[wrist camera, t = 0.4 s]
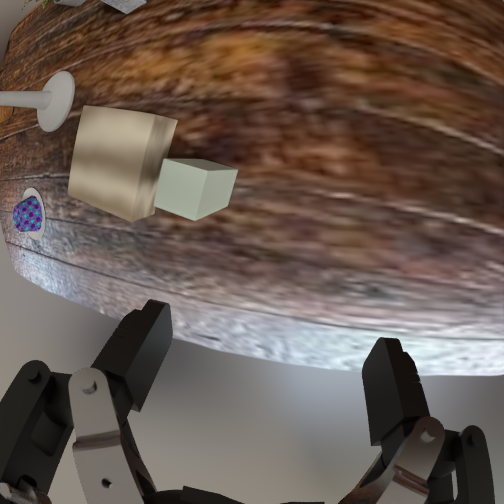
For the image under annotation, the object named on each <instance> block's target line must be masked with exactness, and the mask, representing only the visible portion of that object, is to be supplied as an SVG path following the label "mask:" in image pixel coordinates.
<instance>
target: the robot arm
mask: <svg viewBox="0 0 504 504" xmlns="http://www.w3.org/2000/svg"><path fill="white" fill-rule="evenodd" d="M172 336H173V330H172V320H171V310H170V305H169V303H165V302H161V301H157V300H152V299H150V300H148V301H147V303H146V304H145V306H144V307H143V309H142V310H137V309H135V310H133V311H132V312H130V313H129V314H127V315H126V316H125V317H124V318H123V319H122V321H121V322H120V324H119V325H118V328H116V330H115V331H114V333H113V335H112V336H111V337H110V338H109V340H108V341H107V343H106V344H105V346H104V348H103V349H102V350H101V352H100V353H99V355H98V357H97V358H96V360H95V361H94V363H93V364H92V365H91V367H88V368H82V369H80V370H78V371H77V372H75V373H74V374H64V373H56V372H51V371H50V369H49V368H48V366H47V365H46V364H45V363H44V362H42V361H39V360H33V361H30V362H27V363H26V364H25V365H24V366H22V368H21V369H20V371H19V373H18V374H17V375H16V377H15V379H14V380H13V382H12V383H11V385H10V387H9V388H8V390H7V391H6V393H5V395H4V397H3V398H2V400H1V402H0V504H52V502H51V500H50V498H49V497H48V496H47V494H48V492H49V489H50V485H51V483H52V480H53V478H54V475H55V472H56V469H57V467H58V464H59V462H60V459H61V457H62V454H63V452H64V449H65V447H66V445H67V442H68V440H69V438H70V435H71V433H72V431H73V428H75V433H76V442H75V443H73V447H72V448H73V455H74V459H75V464H76V468H77V471H78V475H79V478H80V482H81V485H82V488H83V491H84V494H85V497H86V500H87V503H88V504H244V503H241V502H238V501H235V500H233V499H230V498H228V497H225V496H223V495H221V494H217V493H213V492H208V491H203V490H199V489H195V488H191V487H187V486H183V490H166V491H159V492H158V491H157V489H156V487H155V485H154V483H153V480H152V478H151V476H150V474H149V472H148V470H147V468H146V466H145V465H144V463H143V461H142V459H141V456H140V453H139V451H138V448H137V445H136V443H135V440H134V437H133V434H132V431H131V428H130V425H129V422H128V419H127V416H128V414H129V412H130V410H131V409H132V410H135V411H138V412H140V410H141V409H142V406H143V404H144V402H145V400H146V397H147V395H148V393H149V391H150V388H151V386H152V384H153V382H154V379H155V377H156V375H157V373H158V371H159V369H160V367H161V364H162V362H163V360H164V358H165V356H166V354H167V351H168V349H169V347H170V345H171V341H172ZM417 373H418V372H417V369H416V365H415V362H414V361H413V359H412V358H411V357H410V355H409V354H408V353H407V352H403V349H402V346H401V343H400V341H399V339H397V338H384V337H380V338H379V339H378V340H377V342H376V343H375V345H374V347H373V349H372V350H371V352H370V354H369V355H368V357H367V359H366V360H365V362H364V365H363V369H362V379H363V386H364V392H365V399H366V406H367V414H368V422H369V431H370V439H371V446H380V445H381V447H382V451H381V452H380V453H379V454H378V456H377V457H376V459H375V460H374V462H373V463H372V465H371V466H370V467H369V469H368V470H367V472H366V473H365V474H364V476H363V477H362V478H361V480H360V481H359V483H358V484H357V485H356V486H355V488H354V489H353V490H352V491H351V492H350V493H348V494H347V495H346V496H345V497H344V498H343V499H342V500H341V501H340V502H339V503H338V504H495V496H494V486H493V478H492V471H491V464H490V458H489V453H488V448H487V443H486V439H485V435H484V433H483V431H482V430H481V429H480V428H479V427H477V426H474V425H471V426H468V427H466V428H465V429H464V430H463V431H461V432H456V431H451V430H446V429H444V427H443V425H442V423H441V422H440V421H439V420H438V419H436V418H434V417H431V416H430V413H429V409H428V406H427V402H426V398H425V395H424V391H423V388H422V384H421V383H420V378H419V375H417ZM455 470H456V477H457V487H458V495H457V498H456V500H455V501H454V498H453V485H452V474H451V472H453V471H455ZM109 487H110V488H109ZM282 504H324V502H288V503H282Z"/></svg>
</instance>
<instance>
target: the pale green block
mask: <svg viewBox="0 0 504 504" xmlns="http://www.w3.org/2000/svg"><path fill="white" fill-rule="evenodd" d="M237 172H238V169H235V168H232V167H228V166H225V165H221V164H218V163H215V162H211V161H207V160H204V159H163V164H162V168H161V172H160V177H159V181H158V186H157V190H156V195H155V200H154V205H153V206H155V207H158V208H161V209H164V210H166V211H169V212H172V213H175V214H178V215H180V216H183V217H186V218H189V219H191V220H194V221H196V220H198V219H200V218H202V217H205V216H207V215H209V214H211V213H213V212H216V211H218V210H220V209H222V208H225V207H227V206H228V203H229V199H230V196H231V192H232V189H233V185H234V182H235V179H236V175H237Z"/></svg>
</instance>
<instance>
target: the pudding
mask: <svg viewBox="0 0 504 504" xmlns="http://www.w3.org/2000/svg"><path fill="white" fill-rule="evenodd" d="M31 195H34V197H32V196H31ZM35 196H36V197H37V198H38V200H39V202H40V203H39V202H38V201H37V198H36V197H35ZM40 204H41V205H40ZM41 208H42V213H41ZM42 214H43V222H42ZM13 220H14V223H15V226H16V228H17V229H18V230H19V231H21V232H27V233H28V234H29V236H30V237H31V238H33V239H34V240H39V239H40V238H41V237H42V235H43V233H44V229H45V211H44V206H43V202H42V199H41V197H40V195H39V193H38V192H37V191H36V190H35V189H34V188H28V189H27V190H26V191H25V193H24V195H23V198H22V202H20V203H18V204H17V205H16V206H15V209H14V211H13ZM41 222H42V227H41ZM40 228H41V229H40ZM39 229H40V231H38V232H35V231H37V230H39Z"/></svg>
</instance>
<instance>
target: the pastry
mask: <svg viewBox="0 0 504 504" xmlns="http://www.w3.org/2000/svg"><path fill="white" fill-rule="evenodd" d="M12 111H13V106H2V105H0V122H4V121H6V120H8V119H9V118H10V117H11V116H12Z"/></svg>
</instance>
